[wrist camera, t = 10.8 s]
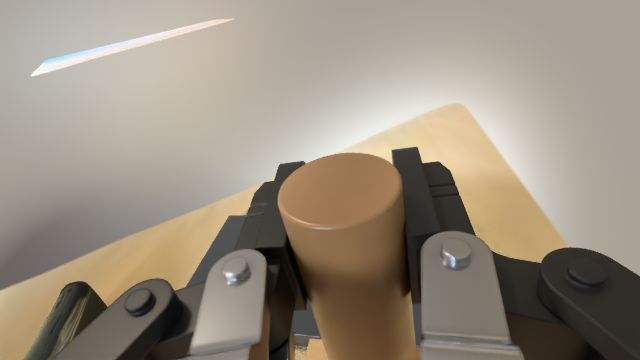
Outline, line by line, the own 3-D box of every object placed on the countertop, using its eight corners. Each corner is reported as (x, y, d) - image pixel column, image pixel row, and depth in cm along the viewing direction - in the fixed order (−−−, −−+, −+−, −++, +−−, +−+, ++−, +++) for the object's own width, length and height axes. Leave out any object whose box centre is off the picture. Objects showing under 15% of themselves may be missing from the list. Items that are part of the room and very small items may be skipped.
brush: (301, 498, 14) (147, 260, 7) (324, 380, 17) (238, 141, 10) (485, 537, 12) (541, 273, 5) (470, 398, 16) (490, 123, 8)
